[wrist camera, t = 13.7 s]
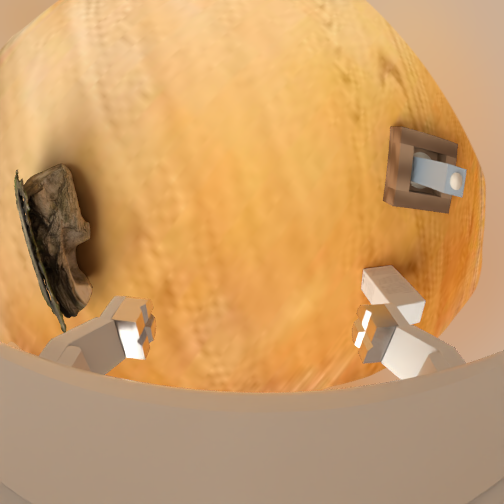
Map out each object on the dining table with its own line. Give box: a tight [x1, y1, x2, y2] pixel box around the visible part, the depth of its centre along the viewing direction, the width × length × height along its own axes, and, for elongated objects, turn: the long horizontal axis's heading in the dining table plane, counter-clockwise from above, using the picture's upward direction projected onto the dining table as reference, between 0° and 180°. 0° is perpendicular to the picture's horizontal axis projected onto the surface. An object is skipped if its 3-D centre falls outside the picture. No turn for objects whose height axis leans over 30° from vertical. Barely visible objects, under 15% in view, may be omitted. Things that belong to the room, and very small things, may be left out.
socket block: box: [383, 127, 458, 213], centre depth 36 cm, size 12×12×4 cm
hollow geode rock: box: [14, 164, 92, 333], centre depth 36 cm, size 28×13×15 cm
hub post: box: [410, 156, 466, 197], centre depth 32 cm, size 4×4×9 cm
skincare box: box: [361, 265, 426, 325], centre depth 39 cm, size 6×4×12 cm
